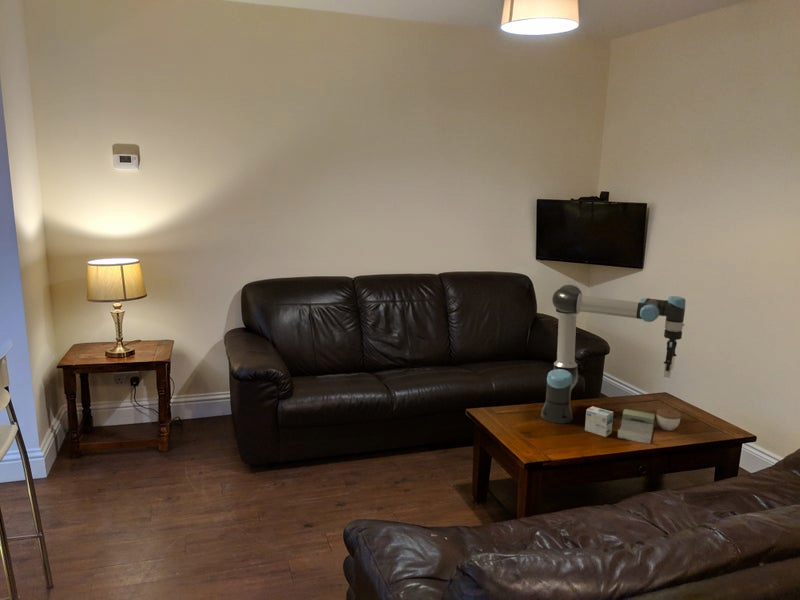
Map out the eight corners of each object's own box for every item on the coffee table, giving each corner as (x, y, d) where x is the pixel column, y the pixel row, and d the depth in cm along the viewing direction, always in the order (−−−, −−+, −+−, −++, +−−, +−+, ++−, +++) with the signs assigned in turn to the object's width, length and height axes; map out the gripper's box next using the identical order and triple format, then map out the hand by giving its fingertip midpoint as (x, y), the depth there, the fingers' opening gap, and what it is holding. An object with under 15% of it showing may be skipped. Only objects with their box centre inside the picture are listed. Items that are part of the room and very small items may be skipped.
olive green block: (621, 425, 290) (622, 413, 289) (623, 420, 296) (624, 408, 295) (652, 431, 284) (653, 419, 283) (653, 425, 290) (654, 414, 289)
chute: (617, 437, 276) (618, 429, 275) (621, 426, 289) (622, 418, 289) (650, 443, 270) (651, 436, 269) (652, 431, 283) (653, 424, 282)
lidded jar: (681, 433, 282) (684, 414, 280) (657, 431, 284) (659, 412, 282) (676, 424, 292) (678, 406, 290) (653, 422, 294) (655, 404, 293)
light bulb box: (612, 433, 281) (614, 411, 279) (605, 437, 276) (607, 415, 274) (590, 426, 288) (592, 405, 286) (584, 430, 283) (585, 409, 281)
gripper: (679, 336, 266) (674, 382, 271) (684, 325, 288) (679, 367, 292) (661, 334, 270) (656, 379, 274) (667, 323, 291) (662, 365, 296)
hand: (668, 373), depth 283 cm, fingers open, 13 cm apart
